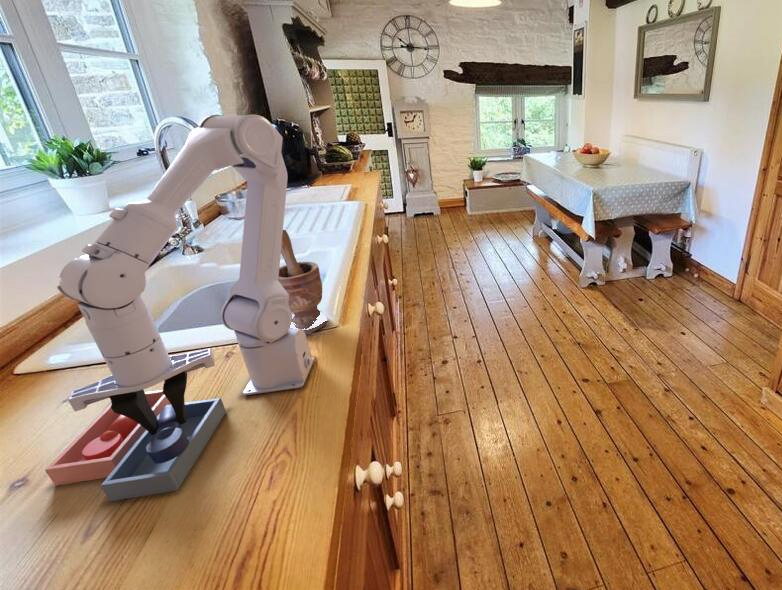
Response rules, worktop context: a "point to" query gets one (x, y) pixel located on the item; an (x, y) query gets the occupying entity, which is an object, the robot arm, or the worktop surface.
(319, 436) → the worktop surface
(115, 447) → the red rubber stamp
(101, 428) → the red bin
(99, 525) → the worktop surface
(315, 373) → the worktop surface
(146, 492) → the blue bin
